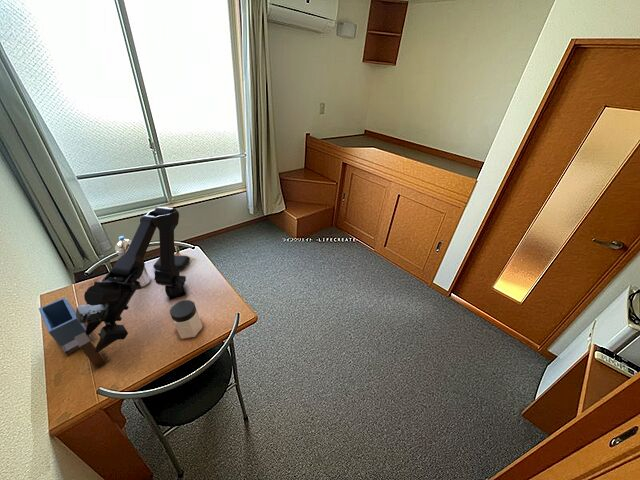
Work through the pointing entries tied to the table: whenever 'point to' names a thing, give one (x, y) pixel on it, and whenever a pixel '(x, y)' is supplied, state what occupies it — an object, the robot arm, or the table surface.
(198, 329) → the jar
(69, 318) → the storage box
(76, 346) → the hook tag
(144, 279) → the water bottle
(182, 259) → the carrying case
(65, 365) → the table surface
